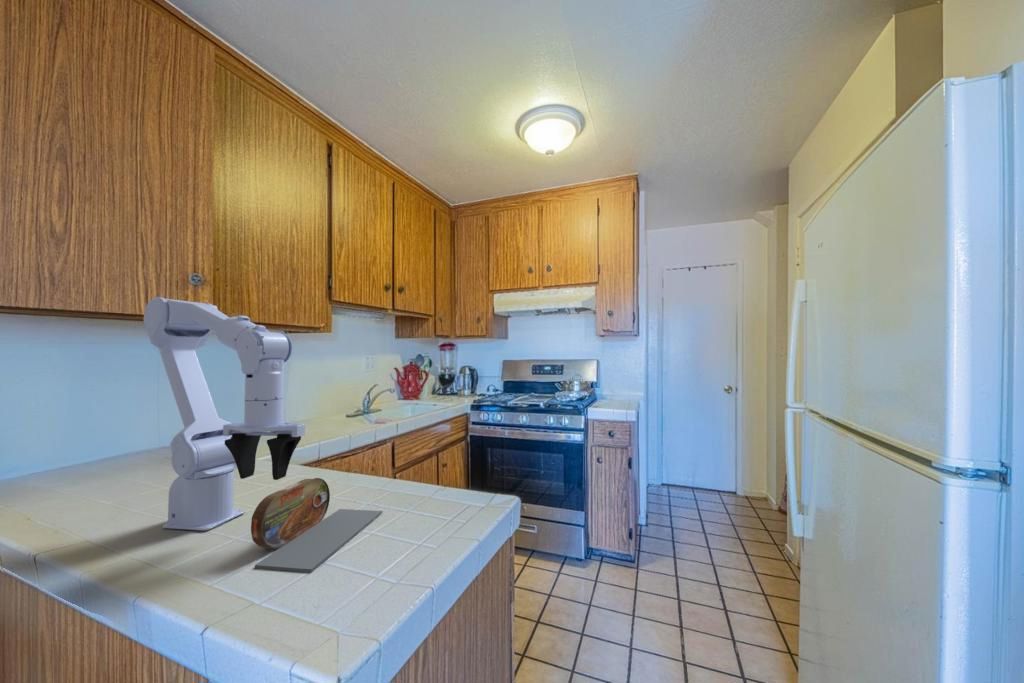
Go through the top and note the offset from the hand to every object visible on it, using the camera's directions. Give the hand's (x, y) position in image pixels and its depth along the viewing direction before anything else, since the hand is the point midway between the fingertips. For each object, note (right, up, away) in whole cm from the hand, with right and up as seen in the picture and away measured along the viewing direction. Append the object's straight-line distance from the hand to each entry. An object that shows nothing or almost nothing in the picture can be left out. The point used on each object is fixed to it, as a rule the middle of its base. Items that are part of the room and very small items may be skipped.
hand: (263, 477), depth 64 cm
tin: (+6, -10, -1) cm, 11 cm away
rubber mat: (+12, -9, -2) cm, 16 cm away
